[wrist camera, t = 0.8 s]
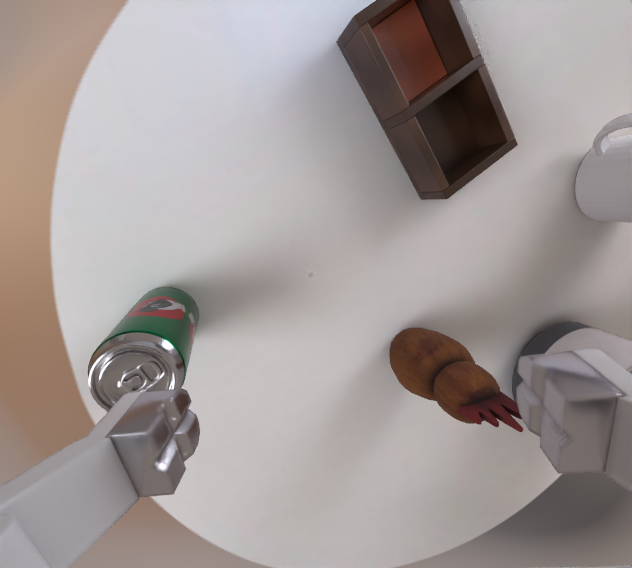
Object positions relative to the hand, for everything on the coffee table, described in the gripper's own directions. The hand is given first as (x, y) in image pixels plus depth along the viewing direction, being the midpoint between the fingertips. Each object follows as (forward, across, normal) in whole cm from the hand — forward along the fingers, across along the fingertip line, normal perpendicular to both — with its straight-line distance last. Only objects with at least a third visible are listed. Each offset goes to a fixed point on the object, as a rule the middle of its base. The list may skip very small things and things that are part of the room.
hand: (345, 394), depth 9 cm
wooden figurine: (+26, -5, +15) cm, 30 cm away
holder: (+28, -8, -9) cm, 31 cm away
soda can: (+19, +16, +5) cm, 25 cm away
